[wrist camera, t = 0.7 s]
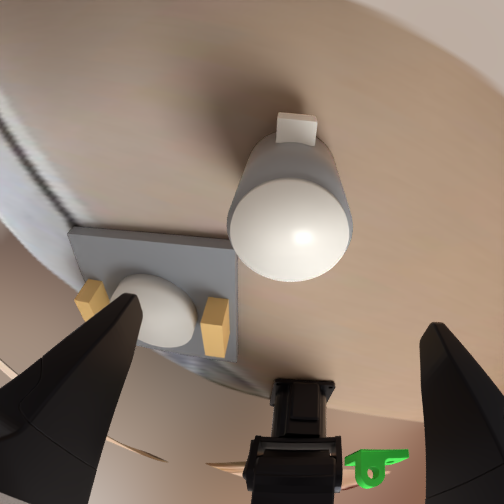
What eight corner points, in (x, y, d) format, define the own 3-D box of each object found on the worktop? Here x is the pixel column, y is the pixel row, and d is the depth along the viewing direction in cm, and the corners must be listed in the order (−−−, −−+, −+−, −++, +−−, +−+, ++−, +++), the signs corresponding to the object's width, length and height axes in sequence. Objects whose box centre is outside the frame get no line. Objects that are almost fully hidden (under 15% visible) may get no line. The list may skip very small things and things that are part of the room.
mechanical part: (344, 456, 49) (343, 492, 43) (360, 449, 46) (361, 487, 39) (390, 457, 50) (392, 489, 44) (408, 449, 47) (410, 483, 40)
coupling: (326, 230, 19) (334, 306, 14) (245, 222, 19) (227, 296, 14) (344, 116, 14) (372, 156, 9) (248, 106, 15) (223, 141, 10)
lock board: (238, 353, 28) (232, 385, 25) (114, 332, 29) (101, 358, 26) (237, 240, 20) (227, 276, 17) (73, 226, 21) (49, 253, 18)
